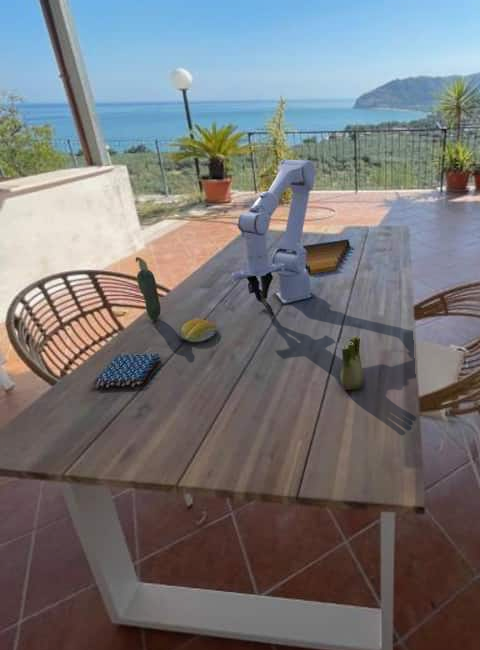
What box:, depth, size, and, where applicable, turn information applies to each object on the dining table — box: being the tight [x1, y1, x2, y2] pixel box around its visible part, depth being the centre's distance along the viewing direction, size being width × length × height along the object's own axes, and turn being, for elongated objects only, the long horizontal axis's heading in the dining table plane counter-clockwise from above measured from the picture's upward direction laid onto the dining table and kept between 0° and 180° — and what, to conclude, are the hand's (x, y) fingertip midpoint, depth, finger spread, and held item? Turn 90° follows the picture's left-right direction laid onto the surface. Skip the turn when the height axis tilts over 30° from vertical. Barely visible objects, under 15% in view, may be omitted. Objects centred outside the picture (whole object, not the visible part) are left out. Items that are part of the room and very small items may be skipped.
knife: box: [247, 282, 276, 318], centre depth 112 cm, size 23×2×5 cm, turn 31°
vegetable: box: [135, 256, 161, 322], centre depth 109 cm, size 4×4×20 cm
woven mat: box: [93, 352, 161, 389], centre depth 91 cm, size 10×11×2 cm
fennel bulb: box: [339, 335, 364, 391], centre depth 85 cm, size 6×5×12 cm
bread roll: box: [180, 318, 217, 343], centre depth 105 cm, size 8×9×4 cm
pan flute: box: [292, 238, 351, 275], centre depth 158 cm, size 25×3×25 cm
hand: (261, 298), depth 112 cm, fingers closed on knife, 1 cm apart
